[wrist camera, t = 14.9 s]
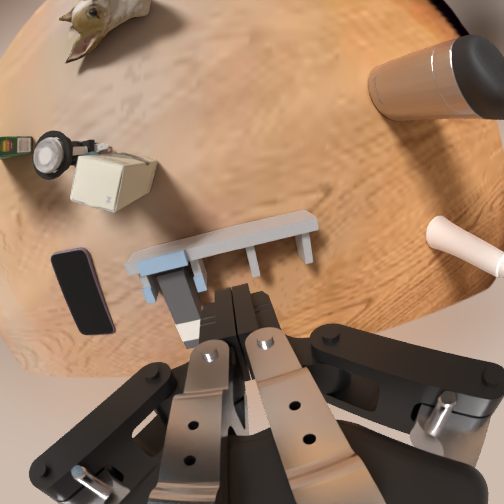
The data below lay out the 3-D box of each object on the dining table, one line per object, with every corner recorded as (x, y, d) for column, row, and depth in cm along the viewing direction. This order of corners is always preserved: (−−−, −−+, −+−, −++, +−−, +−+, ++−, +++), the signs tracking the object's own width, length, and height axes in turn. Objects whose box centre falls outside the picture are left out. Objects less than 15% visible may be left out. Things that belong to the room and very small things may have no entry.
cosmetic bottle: (441, 250, 43) (527, 305, 22) (421, 244, 42) (515, 303, 21) (451, 220, 41) (543, 265, 21) (431, 211, 40) (533, 257, 19)
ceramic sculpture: (156, -6, 18) (42, 58, 19) (171, 23, 26) (76, 70, 27) (141, -53, 14) (38, 4, 15) (156, -24, 22) (67, 22, 23)
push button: (108, 127, 30) (73, 121, 21) (111, 166, 32) (77, 172, 23) (67, 138, 29) (26, 138, 20) (70, 175, 31) (30, 185, 22)
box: (159, 160, 33) (128, 165, 21) (150, 193, 34) (117, 215, 22) (122, 151, 32) (77, 153, 20) (114, 183, 33) (68, 201, 21)
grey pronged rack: (304, 208, 37) (319, 218, 32) (310, 249, 39) (325, 265, 34) (134, 250, 36) (121, 266, 31) (148, 289, 38) (139, 310, 33)
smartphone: (81, 335, 40) (48, 255, 34) (83, 331, 41) (51, 252, 35) (116, 333, 40) (85, 248, 34) (117, 329, 41) (88, 245, 35)
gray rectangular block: (161, 264, 38) (155, 277, 34) (186, 258, 38) (183, 270, 34) (188, 333, 42) (186, 349, 38) (210, 328, 42) (210, 344, 38)
